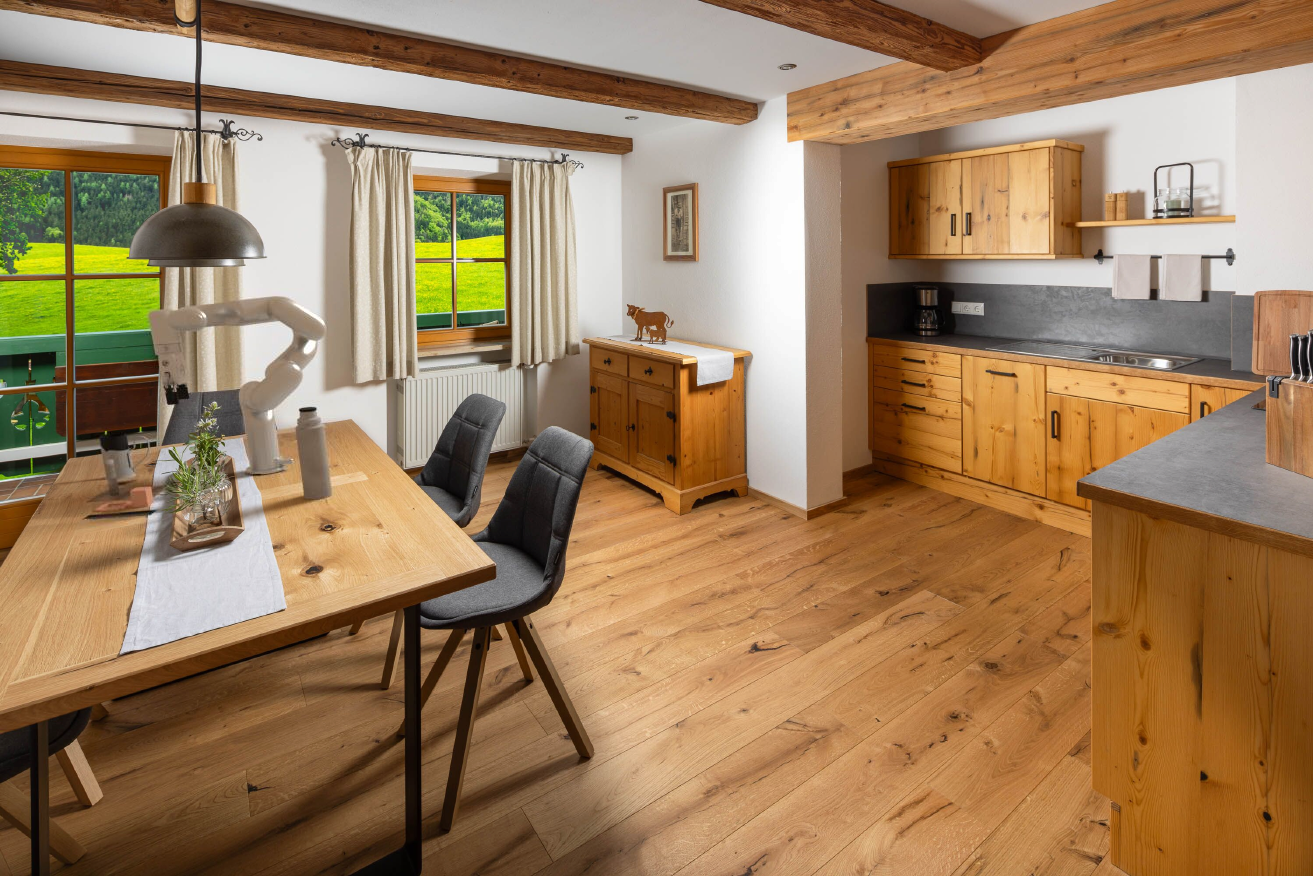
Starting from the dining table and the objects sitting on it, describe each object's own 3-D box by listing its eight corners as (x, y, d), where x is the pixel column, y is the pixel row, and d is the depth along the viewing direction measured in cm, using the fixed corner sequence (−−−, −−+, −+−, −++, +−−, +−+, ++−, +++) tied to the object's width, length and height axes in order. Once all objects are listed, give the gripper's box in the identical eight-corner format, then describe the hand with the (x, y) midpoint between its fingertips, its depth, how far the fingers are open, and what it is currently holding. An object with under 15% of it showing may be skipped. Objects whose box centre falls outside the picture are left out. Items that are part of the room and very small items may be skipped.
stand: (170, 489, 238) (164, 452, 235) (154, 502, 225) (147, 462, 222) (107, 494, 234) (100, 456, 231) (86, 507, 221) (78, 467, 218)
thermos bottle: (310, 492, 234) (300, 405, 227) (336, 491, 234) (326, 405, 228) (299, 499, 226) (288, 410, 220) (326, 499, 226) (315, 409, 220)
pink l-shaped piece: (156, 503, 222) (153, 484, 221) (146, 511, 215) (142, 492, 214) (106, 507, 219) (103, 488, 218) (94, 515, 212) (90, 495, 211)
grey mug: (108, 476, 255) (100, 433, 251) (157, 471, 260) (150, 429, 257) (101, 482, 247) (93, 439, 243) (151, 477, 252) (144, 434, 249)
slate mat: (166, 502, 225) (166, 501, 225) (150, 515, 213) (150, 513, 213) (103, 507, 221) (103, 505, 221) (83, 520, 210) (82, 518, 209)
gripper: (172, 351, 227) (182, 405, 231) (191, 345, 243) (200, 396, 247) (144, 352, 225) (155, 407, 229) (165, 346, 241) (175, 397, 245)
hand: (178, 401), depth 238 cm, fingers open, 9 cm apart
